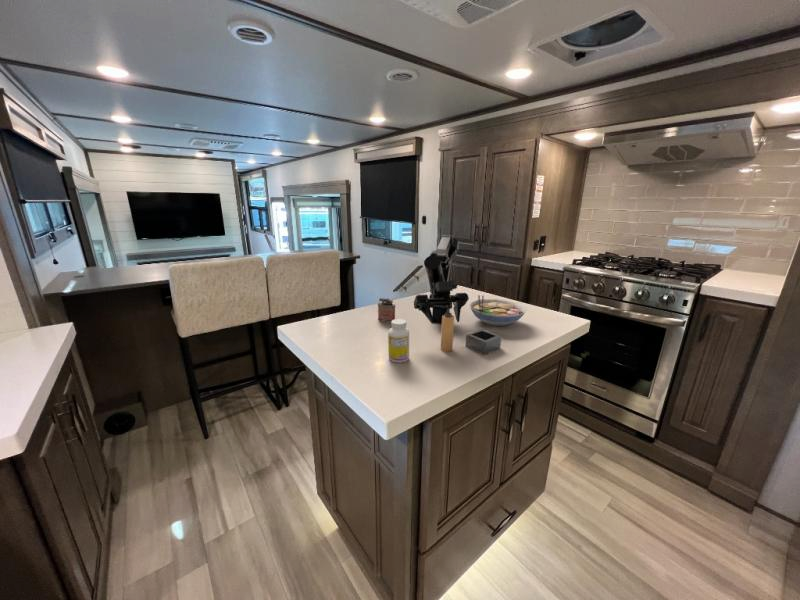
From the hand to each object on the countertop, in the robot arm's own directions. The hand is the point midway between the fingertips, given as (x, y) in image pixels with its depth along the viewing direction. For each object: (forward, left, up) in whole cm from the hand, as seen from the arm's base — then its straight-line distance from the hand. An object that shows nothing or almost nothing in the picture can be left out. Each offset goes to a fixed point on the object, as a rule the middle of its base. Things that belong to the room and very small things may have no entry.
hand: (445, 322), depth 107 cm
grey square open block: (+13, +3, -9) cm, 16 cm away
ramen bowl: (+18, +29, -9) cm, 36 cm away
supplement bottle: (-13, -13, -9) cm, 20 cm away
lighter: (-27, +19, -9) cm, 35 cm away
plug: (+1, -2, -9) cm, 9 cm away
